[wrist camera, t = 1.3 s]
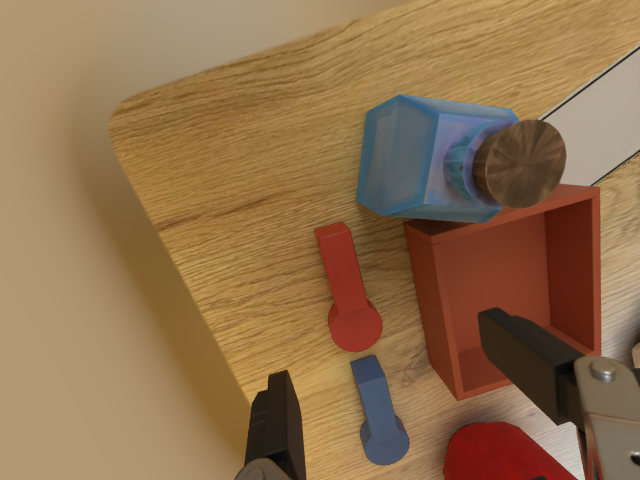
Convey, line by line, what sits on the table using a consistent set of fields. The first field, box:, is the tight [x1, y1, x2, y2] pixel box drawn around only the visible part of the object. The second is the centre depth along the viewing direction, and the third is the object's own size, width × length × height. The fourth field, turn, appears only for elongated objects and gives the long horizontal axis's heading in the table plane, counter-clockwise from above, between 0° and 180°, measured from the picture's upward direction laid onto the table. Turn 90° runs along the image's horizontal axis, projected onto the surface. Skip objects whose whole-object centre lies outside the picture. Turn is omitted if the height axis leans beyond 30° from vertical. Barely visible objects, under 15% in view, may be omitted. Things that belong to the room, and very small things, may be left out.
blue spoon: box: [351, 355, 409, 465], centre depth 27 cm, size 10×4×3 cm, turn 15°
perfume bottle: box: [356, 94, 567, 224], centre depth 17 cm, size 6×6×12 cm
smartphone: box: [537, 43, 640, 186], centre depth 24 cm, size 7×1×15 cm
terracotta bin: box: [404, 184, 601, 401], centre depth 24 cm, size 13×12×4 cm
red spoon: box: [314, 222, 382, 352], centre depth 23 cm, size 10×4×3 cm, turn 15°
